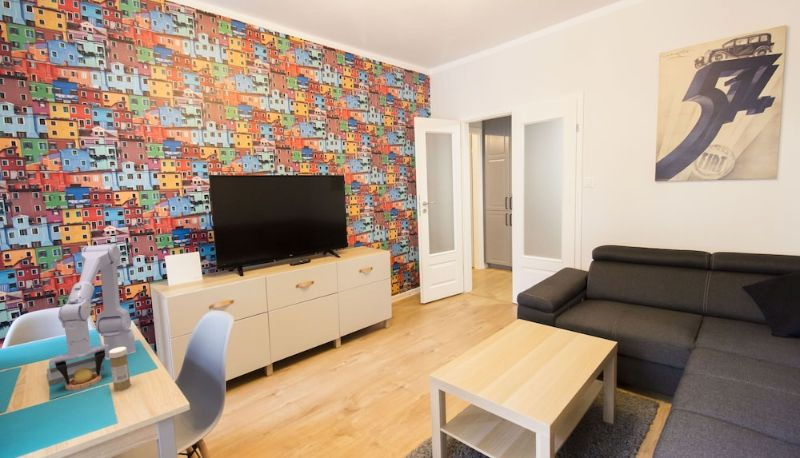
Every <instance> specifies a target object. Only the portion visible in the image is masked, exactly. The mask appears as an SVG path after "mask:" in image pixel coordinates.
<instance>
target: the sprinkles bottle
mask: <svg viewBox="0 0 800 458" xmlns="http://www.w3.org/2000/svg"><path fill="white" fill-rule="evenodd" d="M109 357H110V360H109V361H110V370H111V376H112V377H111V378H112V383H113V391H114V392H116V393H117V392H123V391H125V390H128V389H130V388H131V386H132V384H131V380H130V379H131V378H130V377H131V376H130V368H129V363H128V362H129V361H128V355H127V348H126V347H118V348H114V349H112V350H110V351H109Z"/></svg>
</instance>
